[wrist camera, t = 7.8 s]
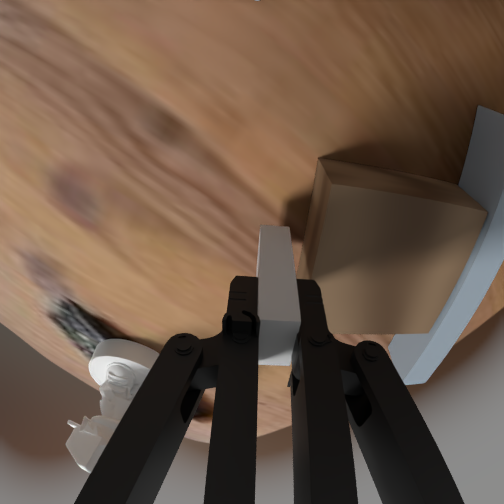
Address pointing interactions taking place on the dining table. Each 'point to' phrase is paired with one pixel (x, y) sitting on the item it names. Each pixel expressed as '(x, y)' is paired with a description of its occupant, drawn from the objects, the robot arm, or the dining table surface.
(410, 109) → the dining table surface
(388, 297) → the block
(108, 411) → the character figurine
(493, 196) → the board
